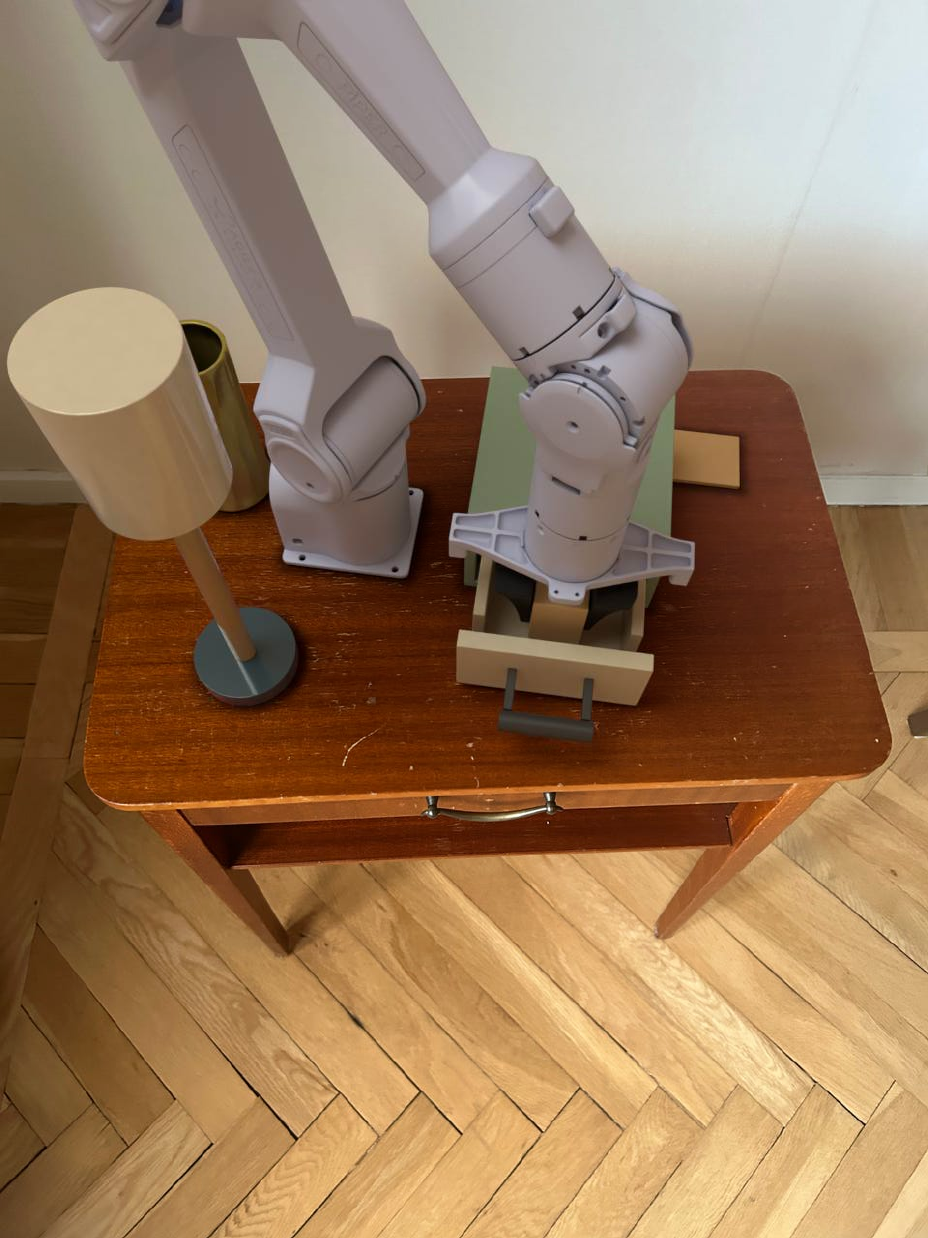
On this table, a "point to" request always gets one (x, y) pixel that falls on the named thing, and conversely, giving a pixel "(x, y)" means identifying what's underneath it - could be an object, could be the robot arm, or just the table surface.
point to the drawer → (552, 662)
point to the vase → (229, 415)
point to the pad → (706, 459)
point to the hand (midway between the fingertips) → (555, 613)
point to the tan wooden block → (556, 617)
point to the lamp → (148, 458)
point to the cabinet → (512, 461)
